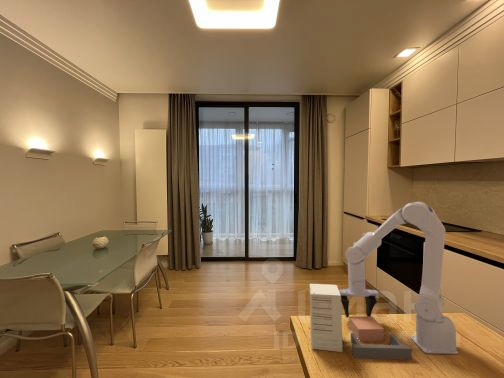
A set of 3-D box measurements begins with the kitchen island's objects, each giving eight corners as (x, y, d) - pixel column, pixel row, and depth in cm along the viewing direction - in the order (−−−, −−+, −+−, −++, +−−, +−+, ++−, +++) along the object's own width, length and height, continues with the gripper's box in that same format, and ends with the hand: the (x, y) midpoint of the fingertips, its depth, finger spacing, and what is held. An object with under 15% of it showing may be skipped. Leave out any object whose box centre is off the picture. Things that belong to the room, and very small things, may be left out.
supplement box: (343, 353, 74) (341, 296, 74) (311, 349, 76) (309, 294, 76) (338, 334, 83) (337, 284, 83) (310, 332, 85) (309, 282, 85)
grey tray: (398, 343, 78) (398, 333, 78) (412, 359, 70) (411, 348, 70) (346, 342, 79) (345, 332, 79) (354, 357, 71) (353, 347, 71)
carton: (372, 327, 87) (371, 316, 87) (384, 341, 79) (383, 328, 79) (349, 328, 87) (349, 316, 87) (359, 341, 79) (358, 329, 79)
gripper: (372, 275, 95) (373, 311, 95) (333, 275, 96) (334, 310, 96) (380, 282, 88) (381, 320, 88) (338, 282, 89) (339, 320, 89)
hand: (357, 316), depth 91 cm, fingers open, 7 cm apart
